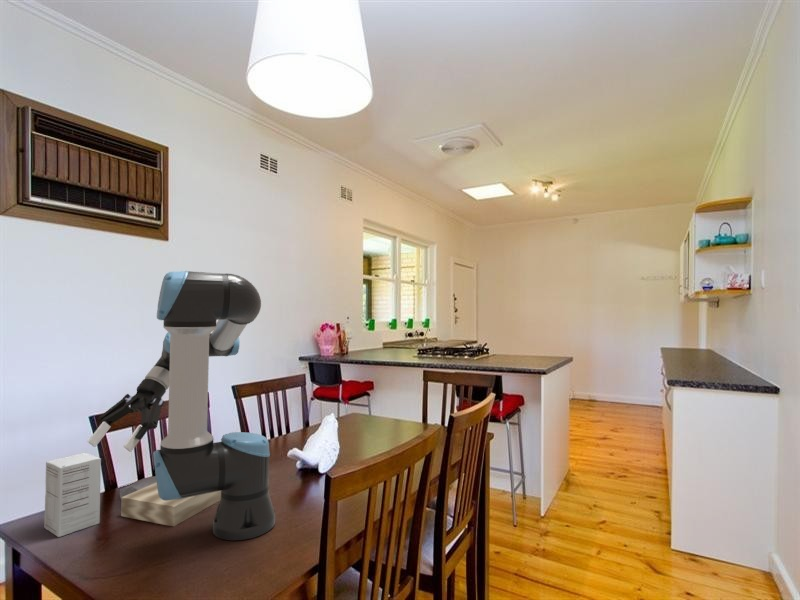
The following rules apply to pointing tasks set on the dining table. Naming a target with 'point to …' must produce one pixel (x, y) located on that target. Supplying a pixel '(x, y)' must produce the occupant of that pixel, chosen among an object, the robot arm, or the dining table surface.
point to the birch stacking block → (164, 506)
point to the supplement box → (72, 493)
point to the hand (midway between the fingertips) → (108, 446)
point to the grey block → (137, 486)
